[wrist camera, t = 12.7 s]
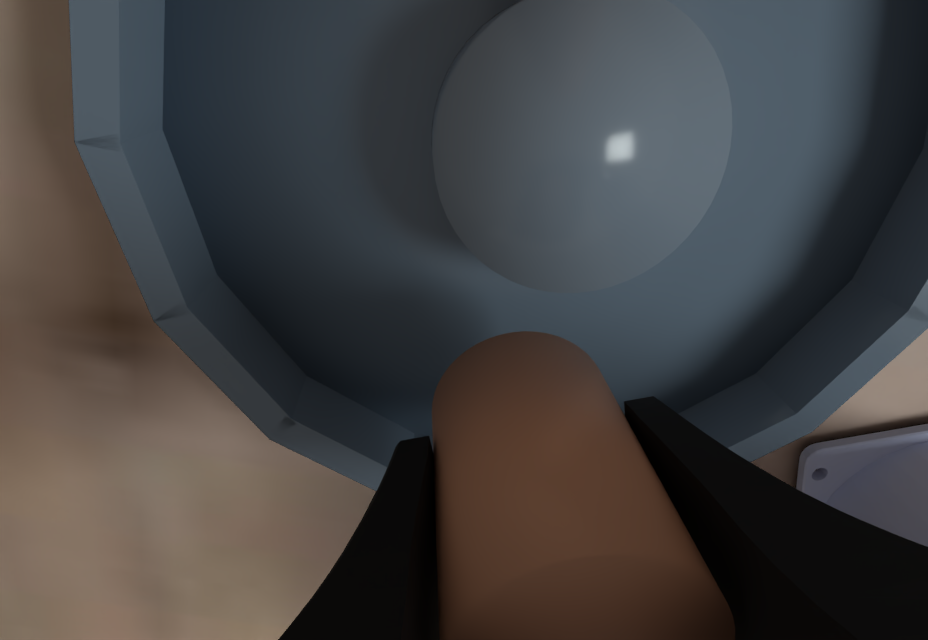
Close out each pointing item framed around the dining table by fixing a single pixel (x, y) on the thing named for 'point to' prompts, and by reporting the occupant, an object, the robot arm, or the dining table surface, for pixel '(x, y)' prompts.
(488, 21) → the ring tray
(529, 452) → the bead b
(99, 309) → the dining table surface
